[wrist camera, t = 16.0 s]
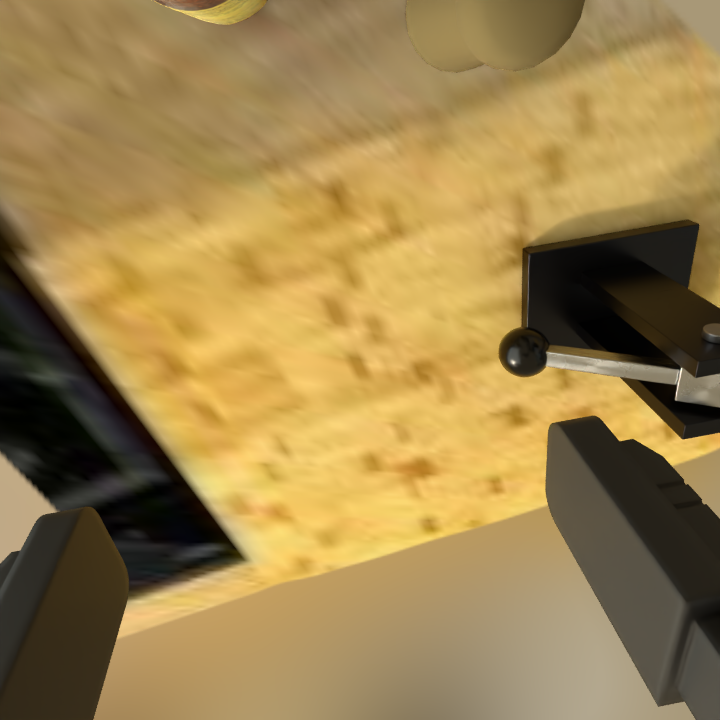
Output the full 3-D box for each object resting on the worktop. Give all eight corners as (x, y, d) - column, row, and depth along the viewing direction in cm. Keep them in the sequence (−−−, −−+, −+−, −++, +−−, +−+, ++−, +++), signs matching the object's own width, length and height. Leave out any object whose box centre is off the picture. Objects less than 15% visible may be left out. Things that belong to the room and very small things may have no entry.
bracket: (520, 358, 43) (611, 479, 31) (522, 248, 38) (629, 340, 26) (669, 331, 43) (816, 441, 31) (689, 219, 38) (869, 296, 27)
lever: (506, 357, 38) (492, 382, 35) (506, 315, 36) (491, 339, 34) (732, 389, 31) (732, 422, 29) (744, 341, 30) (745, 371, 28)
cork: (467, 94, 33) (540, 114, 23) (384, 30, 31) (428, 24, 21) (533, -8, 31) (644, -31, 21) (448, -84, 28) (530, -149, 19)
